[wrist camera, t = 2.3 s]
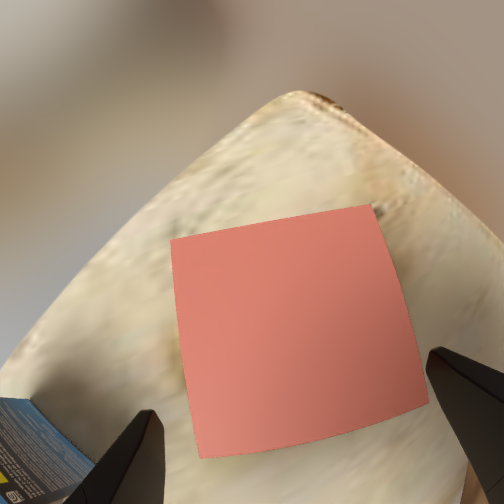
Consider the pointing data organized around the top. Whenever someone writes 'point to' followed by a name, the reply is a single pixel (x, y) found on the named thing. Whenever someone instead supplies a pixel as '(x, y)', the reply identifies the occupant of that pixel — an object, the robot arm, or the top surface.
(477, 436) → the robot arm
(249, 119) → the top surface
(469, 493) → the walnut cube
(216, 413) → the red block
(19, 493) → the label tape cartridge
